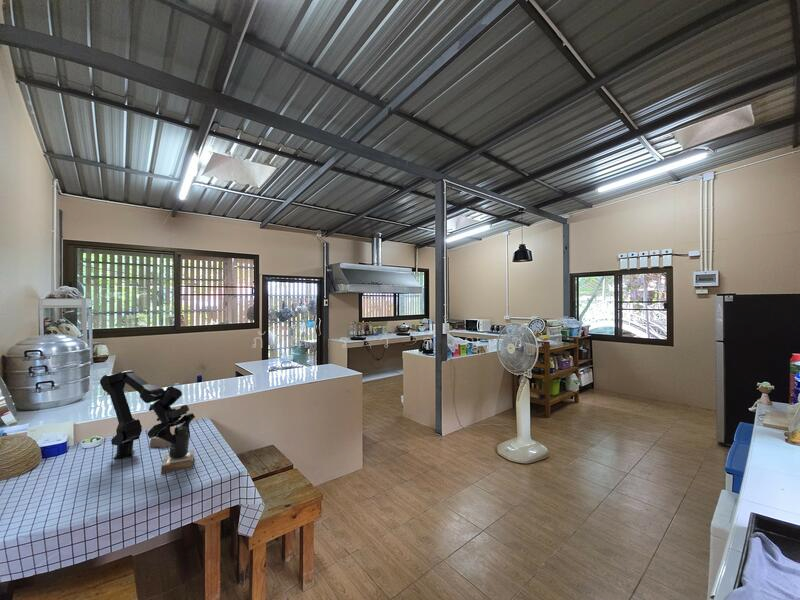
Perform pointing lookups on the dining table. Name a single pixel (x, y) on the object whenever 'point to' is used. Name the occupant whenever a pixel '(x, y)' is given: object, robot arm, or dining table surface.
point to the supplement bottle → (179, 443)
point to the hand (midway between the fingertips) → (182, 440)
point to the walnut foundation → (177, 463)
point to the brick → (160, 440)
